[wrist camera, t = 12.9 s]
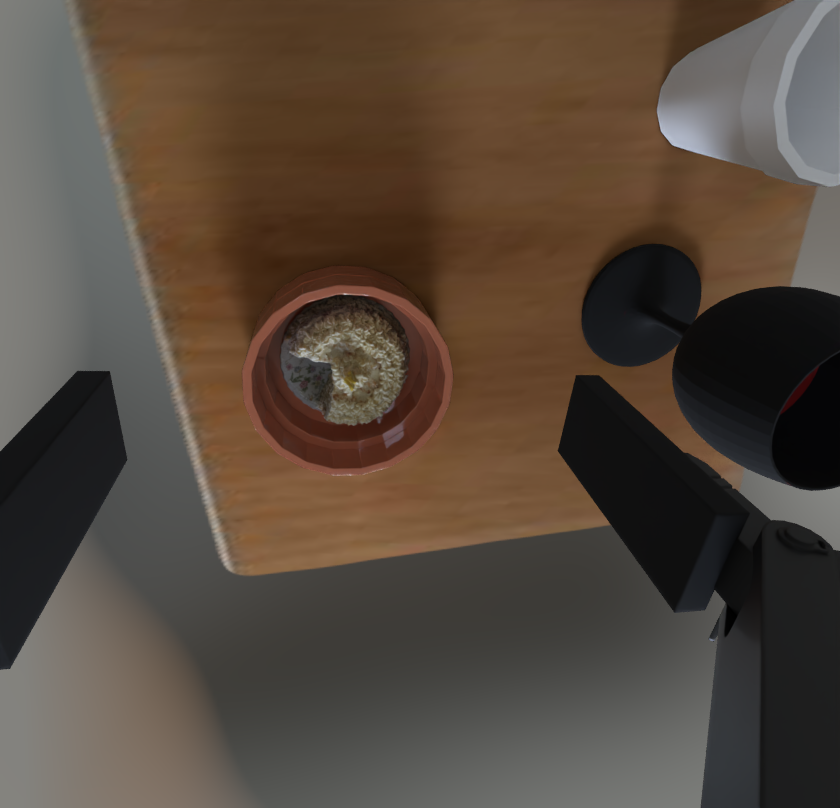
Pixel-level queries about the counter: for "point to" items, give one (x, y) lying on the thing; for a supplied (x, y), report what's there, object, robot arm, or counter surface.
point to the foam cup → (764, 95)
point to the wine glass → (730, 360)
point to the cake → (345, 358)
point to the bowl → (307, 428)
